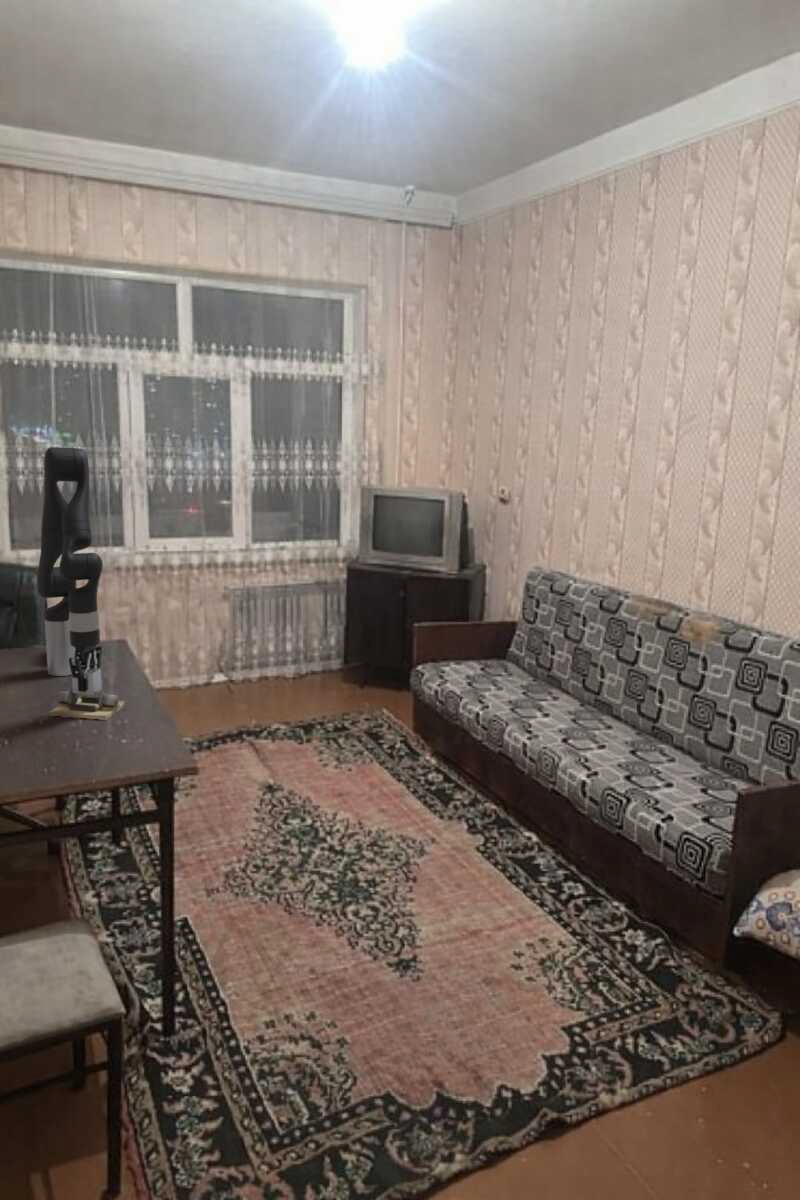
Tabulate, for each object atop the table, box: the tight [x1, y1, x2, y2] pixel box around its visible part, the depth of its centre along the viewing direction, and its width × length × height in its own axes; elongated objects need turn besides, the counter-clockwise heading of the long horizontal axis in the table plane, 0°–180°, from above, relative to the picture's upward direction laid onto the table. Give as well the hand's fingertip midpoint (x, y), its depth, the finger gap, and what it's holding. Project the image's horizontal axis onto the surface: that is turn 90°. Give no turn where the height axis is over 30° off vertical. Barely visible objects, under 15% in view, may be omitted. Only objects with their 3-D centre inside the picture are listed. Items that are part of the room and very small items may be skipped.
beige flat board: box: [48, 688, 127, 721], centre depth 227 cm, size 12×16×6 cm
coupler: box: [71, 667, 103, 696], centre depth 226 cm, size 6×5×6 cm
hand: (87, 688), depth 226 cm, fingers closed on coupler, 4 cm apart
